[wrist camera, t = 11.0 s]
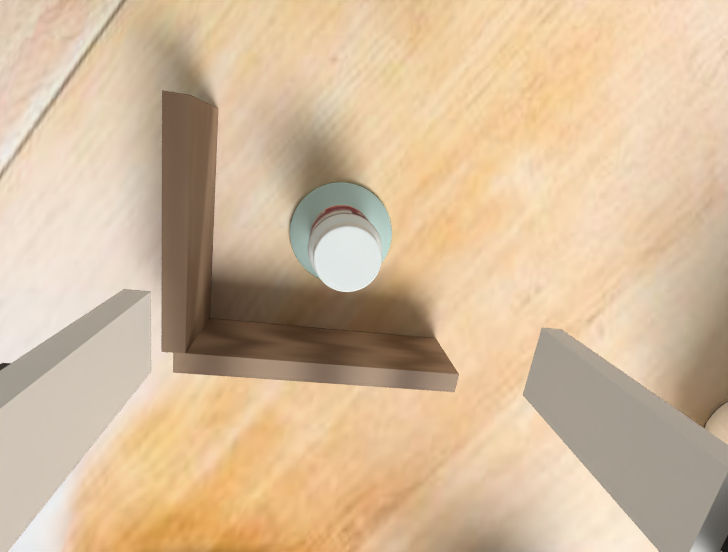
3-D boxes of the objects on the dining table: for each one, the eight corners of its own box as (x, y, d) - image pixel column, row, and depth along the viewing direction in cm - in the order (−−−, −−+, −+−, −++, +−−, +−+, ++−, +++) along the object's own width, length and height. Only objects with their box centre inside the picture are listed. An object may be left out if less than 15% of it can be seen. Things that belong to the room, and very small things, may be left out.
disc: (285, 276, 31) (285, 277, 31) (295, 175, 29) (295, 175, 29) (382, 286, 32) (383, 287, 32) (398, 189, 30) (399, 190, 30)
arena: (190, 333, 32) (161, 371, 26) (195, 105, 27) (162, 90, 21) (432, 353, 35) (454, 392, 29) (475, 151, 30) (512, 148, 24)
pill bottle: (379, 251, 31) (399, 282, 23) (323, 271, 31) (324, 310, 23) (359, 194, 30) (373, 207, 22) (301, 216, 30) (293, 236, 22)
